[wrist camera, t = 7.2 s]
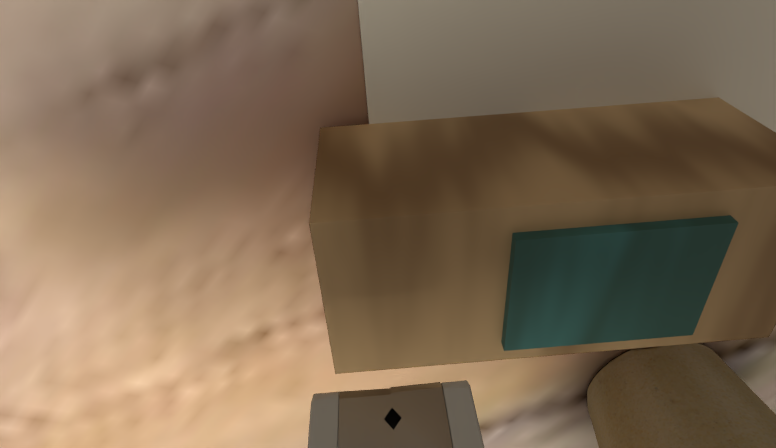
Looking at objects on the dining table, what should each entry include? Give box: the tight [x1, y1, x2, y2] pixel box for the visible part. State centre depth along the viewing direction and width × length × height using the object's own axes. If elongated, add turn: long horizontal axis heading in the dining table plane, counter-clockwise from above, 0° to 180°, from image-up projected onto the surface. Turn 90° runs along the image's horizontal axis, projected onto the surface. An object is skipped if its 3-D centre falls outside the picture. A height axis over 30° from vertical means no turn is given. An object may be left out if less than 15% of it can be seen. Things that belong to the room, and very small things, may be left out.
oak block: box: [309, 97, 776, 374], centre depth 15 cm, size 5×5×12 cm
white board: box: [358, 0, 776, 132], centre depth 17 cm, size 15×12×1 cm
